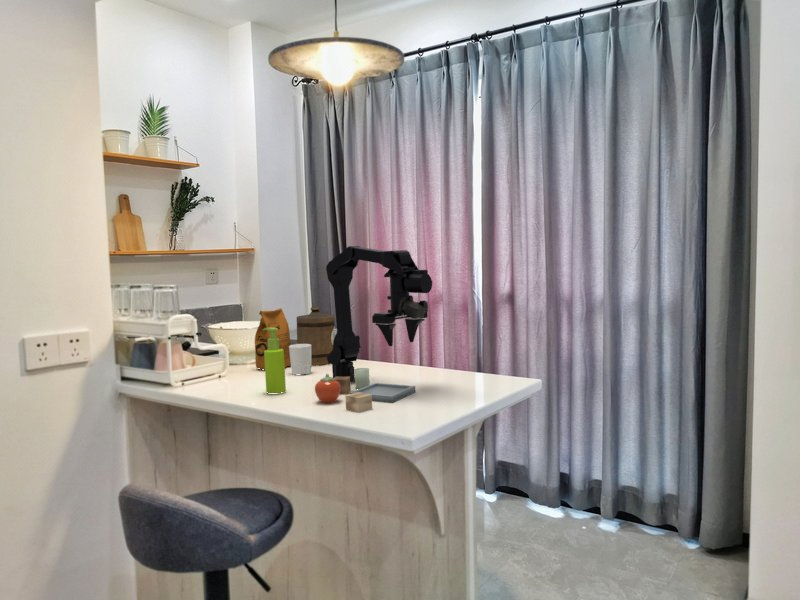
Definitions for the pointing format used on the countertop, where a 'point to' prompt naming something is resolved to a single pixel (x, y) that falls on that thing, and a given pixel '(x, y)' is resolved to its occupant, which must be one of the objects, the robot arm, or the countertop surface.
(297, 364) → the white cup
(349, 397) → the beech block
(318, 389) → the tomato
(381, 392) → the dish
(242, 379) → the countertop surface
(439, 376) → the countertop surface
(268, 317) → the coffee package
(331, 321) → the wooden container
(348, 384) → the walnut block
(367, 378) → the sage green capsule
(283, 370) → the soap dispenser
